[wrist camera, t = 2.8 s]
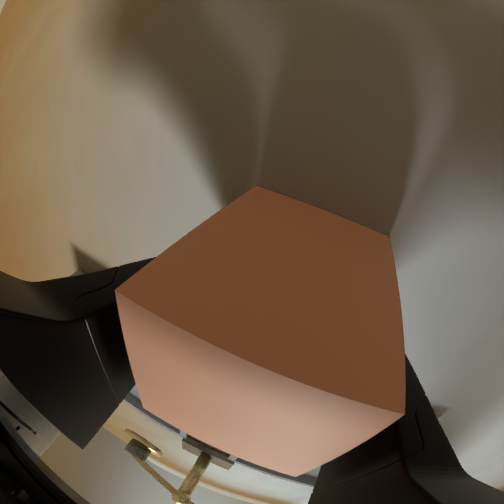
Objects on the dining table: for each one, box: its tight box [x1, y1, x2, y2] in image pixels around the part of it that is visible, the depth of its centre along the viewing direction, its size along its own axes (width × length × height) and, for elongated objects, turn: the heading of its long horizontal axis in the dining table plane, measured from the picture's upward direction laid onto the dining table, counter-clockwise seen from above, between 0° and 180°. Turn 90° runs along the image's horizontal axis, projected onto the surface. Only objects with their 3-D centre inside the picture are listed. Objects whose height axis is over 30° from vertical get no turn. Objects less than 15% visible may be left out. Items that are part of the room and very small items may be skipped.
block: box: [115, 186, 406, 477], centre depth 7 cm, size 4×4×6 cm
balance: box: [124, 429, 234, 504], centre depth 20 cm, size 18×5×9 cm, turn 77°
